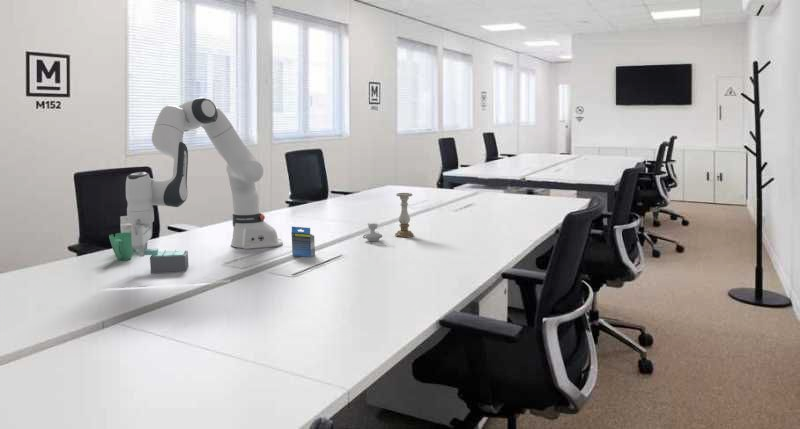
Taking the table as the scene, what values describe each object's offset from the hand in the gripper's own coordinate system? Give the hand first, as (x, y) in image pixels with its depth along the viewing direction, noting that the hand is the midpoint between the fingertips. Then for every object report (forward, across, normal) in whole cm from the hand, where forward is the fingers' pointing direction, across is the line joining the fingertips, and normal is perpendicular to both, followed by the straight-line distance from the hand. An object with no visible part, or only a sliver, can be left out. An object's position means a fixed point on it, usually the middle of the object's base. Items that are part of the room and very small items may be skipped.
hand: (143, 254), depth 228 cm
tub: (+7, 0, -9) cm, 11 cm away
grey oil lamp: (+7, +39, -92) cm, 100 cm away
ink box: (+7, +43, +12) cm, 45 cm away
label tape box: (+7, +16, -59) cm, 62 cm away
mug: (+7, +23, +12) cm, 27 cm away
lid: (+1, 0, -6) cm, 6 cm away
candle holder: (+7, +48, -109) cm, 119 cm away
